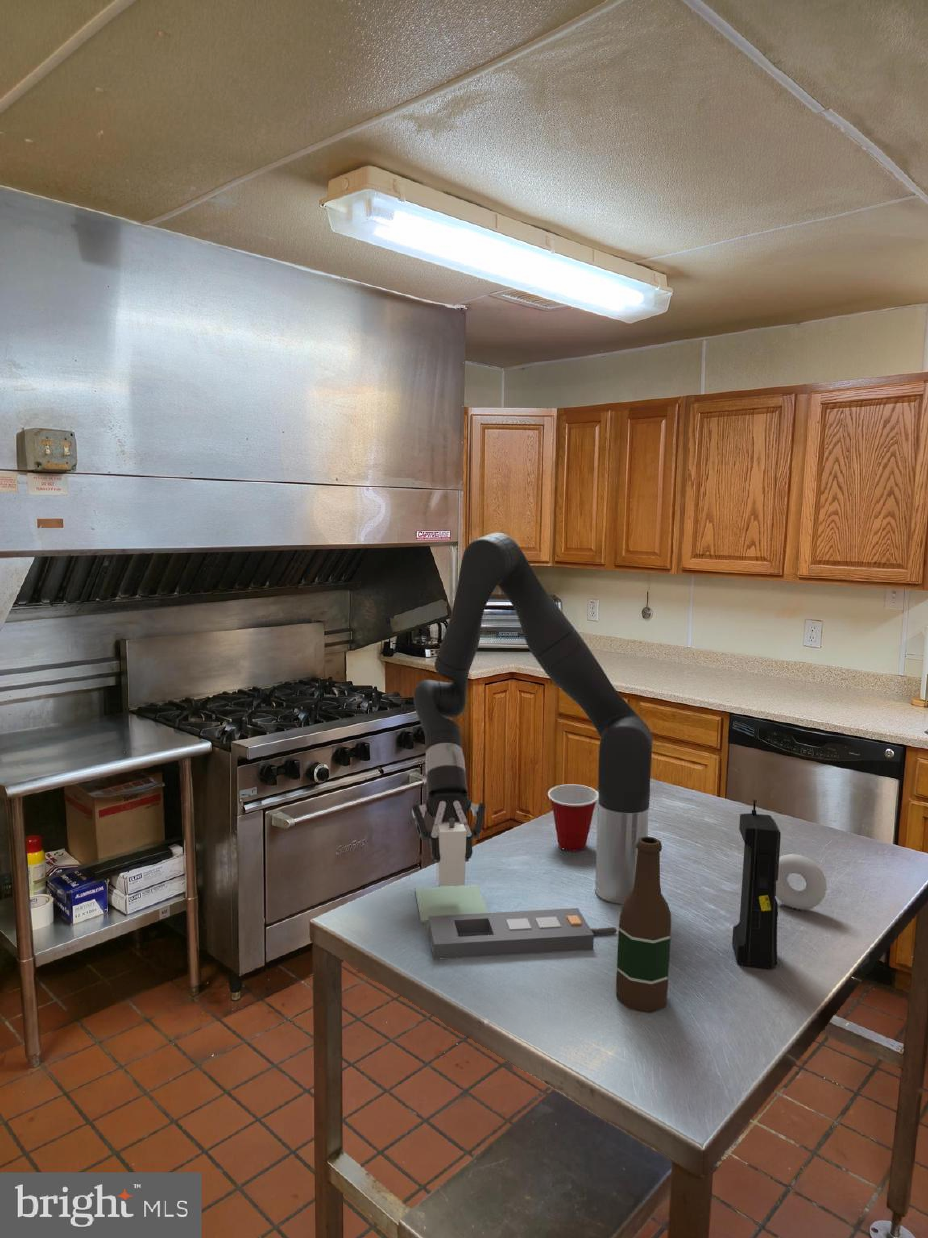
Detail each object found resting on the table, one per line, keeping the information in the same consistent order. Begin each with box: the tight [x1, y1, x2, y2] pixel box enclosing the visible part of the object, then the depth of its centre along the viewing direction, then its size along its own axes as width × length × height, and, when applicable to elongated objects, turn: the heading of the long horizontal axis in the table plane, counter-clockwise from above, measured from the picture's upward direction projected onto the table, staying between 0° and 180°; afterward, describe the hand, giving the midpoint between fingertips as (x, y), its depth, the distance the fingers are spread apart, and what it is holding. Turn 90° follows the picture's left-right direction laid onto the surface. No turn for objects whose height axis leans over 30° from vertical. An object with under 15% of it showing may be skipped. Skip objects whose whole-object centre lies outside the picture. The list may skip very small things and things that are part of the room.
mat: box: [414, 885, 489, 924], centre depth 142 cm, size 12×12×1 cm
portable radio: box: [731, 799, 782, 970], centre depth 125 cm, size 8×6×25 cm
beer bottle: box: [615, 836, 672, 1013], centre depth 114 cm, size 8×8×24 cm
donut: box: [775, 853, 828, 911], centre depth 143 cm, size 10×4×10 cm, turn 54°
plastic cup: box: [547, 783, 599, 852], centre depth 168 cm, size 11×11×12 cm
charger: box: [435, 818, 466, 887], centre depth 141 cm, size 5×4×12 cm
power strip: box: [427, 907, 618, 960], centre depth 131 cm, size 32×9×3 cm, turn 98°
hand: (452, 860), depth 139 cm, fingers closed on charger, 4 cm apart
